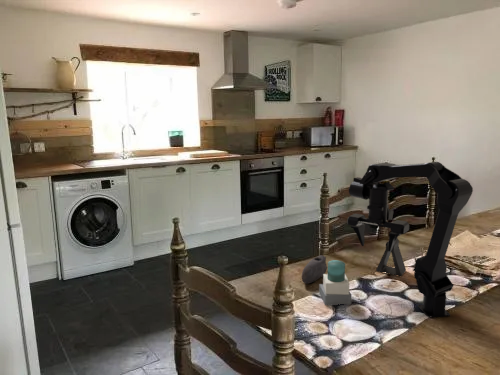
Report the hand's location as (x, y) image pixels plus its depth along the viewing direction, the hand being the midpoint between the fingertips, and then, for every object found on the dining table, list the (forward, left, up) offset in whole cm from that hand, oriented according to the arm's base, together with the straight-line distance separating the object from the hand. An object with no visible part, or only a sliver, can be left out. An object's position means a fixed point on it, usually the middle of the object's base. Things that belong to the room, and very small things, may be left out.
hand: (376, 248), depth 131 cm
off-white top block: (-8, +16, -10) cm, 20 cm away
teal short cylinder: (-8, +16, -6) cm, 19 cm away
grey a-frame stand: (+11, -10, -13) cm, 20 cm away
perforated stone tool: (+7, +19, -13) cm, 24 cm away
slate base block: (-8, +16, -13) cm, 22 cm away
